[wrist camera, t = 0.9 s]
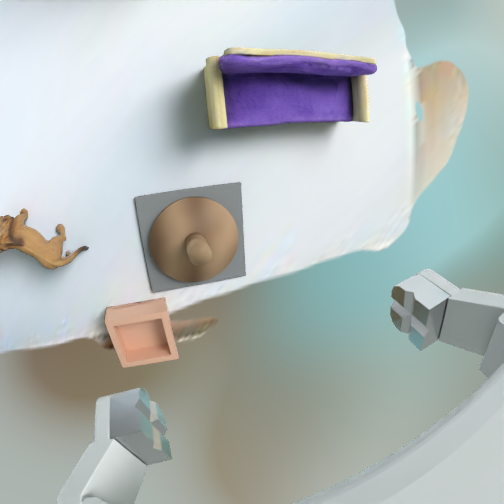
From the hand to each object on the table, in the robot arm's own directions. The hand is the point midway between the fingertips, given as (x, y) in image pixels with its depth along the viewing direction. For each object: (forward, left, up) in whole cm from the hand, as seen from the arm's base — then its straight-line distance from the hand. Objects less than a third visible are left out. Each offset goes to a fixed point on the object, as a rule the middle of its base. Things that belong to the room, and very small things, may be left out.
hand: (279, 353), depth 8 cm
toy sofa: (+14, +10, -33) cm, 37 cm away
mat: (+1, -9, -33) cm, 34 cm away
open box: (-9, -22, -33) cm, 41 cm away
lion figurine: (-20, -4, -33) cm, 39 cm away
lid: (+1, -9, -32) cm, 34 cm away
